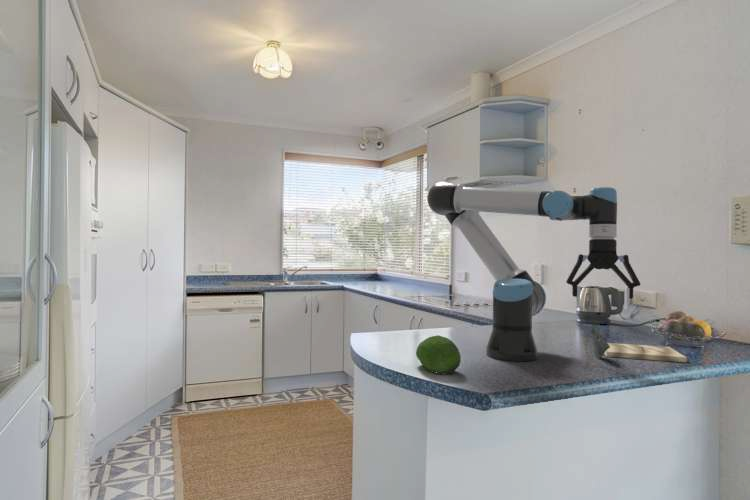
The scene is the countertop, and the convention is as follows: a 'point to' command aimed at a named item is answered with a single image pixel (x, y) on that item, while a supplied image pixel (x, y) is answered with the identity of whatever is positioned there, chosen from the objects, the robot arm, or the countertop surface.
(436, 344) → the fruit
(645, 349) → the board
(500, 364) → the countertop surface
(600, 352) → the stone
